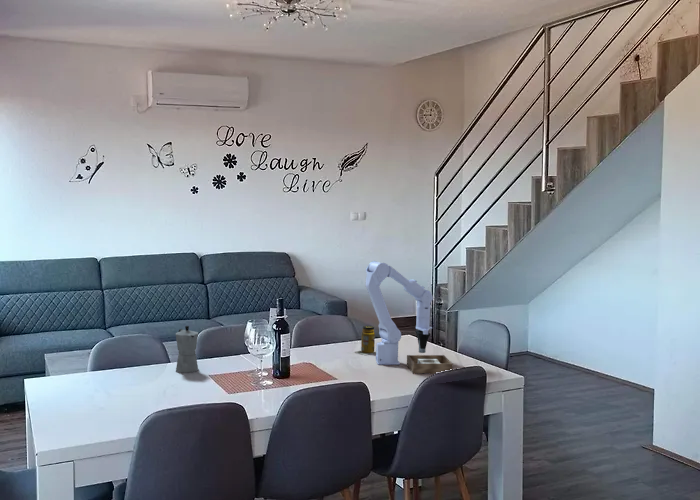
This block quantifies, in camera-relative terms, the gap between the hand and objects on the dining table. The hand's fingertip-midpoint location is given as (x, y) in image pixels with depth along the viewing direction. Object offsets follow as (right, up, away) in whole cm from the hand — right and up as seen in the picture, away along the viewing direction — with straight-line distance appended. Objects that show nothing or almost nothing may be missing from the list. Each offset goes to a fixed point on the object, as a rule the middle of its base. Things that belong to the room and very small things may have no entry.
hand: (422, 347), depth 307 cm
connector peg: (0, -2, 0) cm, 2 cm away
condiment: (-24, -4, +13) cm, 28 cm away
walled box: (+1, -7, -16) cm, 17 cm away
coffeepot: (-97, -6, -24) cm, 101 cm away
